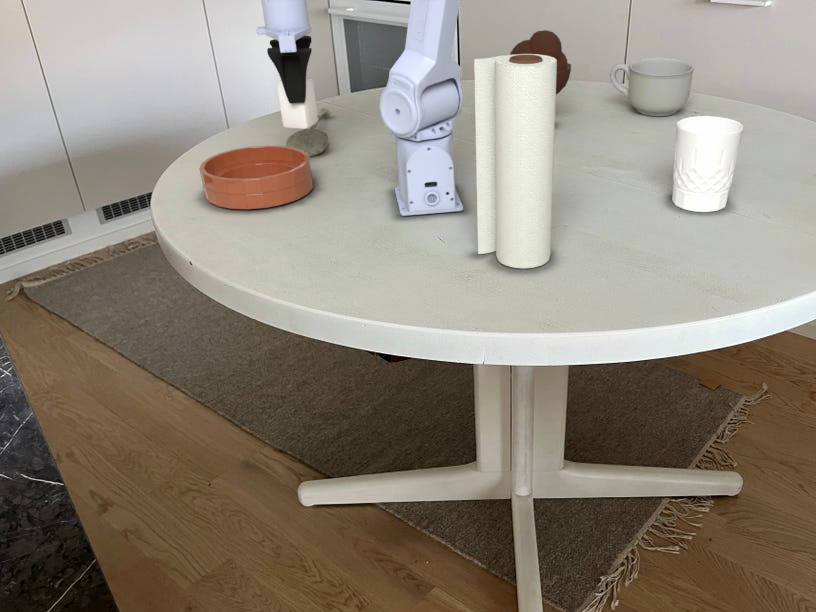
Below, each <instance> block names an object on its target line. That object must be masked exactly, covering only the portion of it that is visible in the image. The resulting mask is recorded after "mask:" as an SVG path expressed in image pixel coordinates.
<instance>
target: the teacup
mask: <svg viewBox="0 0 816 612" xmlns="http://www.w3.org/2000/svg"><path fill="white" fill-rule="evenodd" d="M694 70H695V66H694V65H693V64H692V63H691V62H689V61H686V60H683V59H680V58H679V59H677V58H671V57H645V58H641V59H637V60H634V61H632V62H631V63H630V64H629V65H628V64H626V63H622V62H621V63H617V64H615V65H614V66H613V67H612V68H611V71H610V73H609V79H610V82H611V84H612V86H613V87H614V88H615V89H616V90H617V91H618V92H620V93H621V94H623V95H624V98H625V99H626V100H628V101H629V103H630V104H631V106H632V107H633V108H635V110H636V111H637V112H638V113H639V114H642V115H644V116H650V117H668V116H672V115H675V114H676V113H677V112H678V111H679V110H682V108H684V107H685V105H687V103H688V101H689V98H690V93H691V87H692V82H693V81H692V80H693V72H694ZM618 71H622V72H624V73H625V75H626V79H627V81H628V85H627V87H628V88H627V87H625V86H624V85H622V84H621V83H620V82H619V80H618V79H617V72H618Z"/></svg>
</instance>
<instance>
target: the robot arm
mask: <svg viewBox="0 0 816 612" xmlns="http://www.w3.org/2000/svg"><path fill="white" fill-rule="evenodd" d="M260 1H261V8H262V13H263V21H264V26H257V27H256V34H257V35H265V36H267V37H269V38H271V40H269V45H270V47H268V48H267V50H266V52H267V56H268V58H269V60H270V61H271V63H272V64H273V65H274V67H275V69H276V71H277V73H278V75H279V78H280V80H281V81H282V84H283V87H284V90H285V93H286V96H287V99H288V101H289V103H290V104H291V103H304V102H305V97H306V77H307V71H308V65H309V62H310V57H311V55H312V50H313V49H312V47H311V44H312V36H310V35H309V34H310V33H312V31H313V30H312V24H310V19H309V11H308V3H307V0H260ZM460 2H461V0H410V5H409V14H408V21H407V28H406V37H405V45H404V50H403V52H402V53H401V55H400V56H399V57H398V59H397V60H396V61H395V62H394V64H393V66H392V67H391V68H390V70H389V73H388V74H389V75H388V79H387V84H386V85H385V88H384V89H383V90H382V92H381V94H380V97H379V113H380V117H381V119H382V121H383V124H384V125H385V127H386V128H387V129H388V130H389V131H390V132H391V137H392V138H393V137H394V139H395V154H396V163H397V164H396V165H397V178H398V186H397V187H395V188H394V193H395V198H396V201H397V205H398V210H399V214H400V216H402V217H407V216H417V215H430V214H443V213H444V214H445V213H454V212H455V213H457V212H462V211H464V205H463V203H462V200H461V198H460V196H459V194H458V191H457V189H456V184H455V165H454V164H455V163H454V144H453V143H454V141H453V129H454V128H455V127H456V126H455V119H456V118H457V117H458V116H459V114H461V111H462V108H463V105H464V95H463V89H462V84H461V79H462V73H463V69H462V67H461V66H460V65H459V64H458V62H457V61H456V60H455V59H453V57H452V52H453V46H454V41H455V40H454V39H455V34H456V27H457V21H458V16H459V9H460V5H461V4H460Z"/></svg>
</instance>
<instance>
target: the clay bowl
mask: <svg viewBox="0 0 816 612" xmlns="http://www.w3.org/2000/svg"><path fill="white" fill-rule="evenodd" d="M310 159H311V157H310V156H309V155H308V154H307V153H306V152H305V151H302V150H299V149H296V148H292V147H286V145H255V146H253V145H252V146H246V147H239V148H234V149H230V150H226V151H223V152H219V153H217V154H214V155H212V156H209V157H208V158H206V159H205V160H204V161H203V162H200V166H199V169H198V170H199V174H200V178H201V182H202V187H203V192H204V196H205V198H206V200H207V201H208V202H209V203H211V204H212V205H214V206H217V207H220V208H224V209H225V208H226V209H229V210H230V209H231V210H255V209H267V208H272V207H277V206H282V205H286V204H289V203H292V202H295V201H298V200H299V199H301V198H303V197H305V196H307V195H308V194H309V193H310V192H311V191H312V190H313V188H314V182H313V173H312V167H311V160H310Z"/></svg>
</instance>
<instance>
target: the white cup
mask: <svg viewBox="0 0 816 612" xmlns="http://www.w3.org/2000/svg"><path fill="white" fill-rule="evenodd" d="M675 128H676V129H675V139H674V140H675V142H674V154H673V172H672V173H673V174H672V177H673V185H672V186H673V187H672V197H671V201H672V202H673V204H674V206H676V207H678V208H680V209H682V210H685V211H690V212H695V213H710V212H711V213H712V212H718V211H721V210H722V209H725V207H726V205H727V204H728V198H729V194H730V188H731V187H732V183H733V179H734V175H735V169H736V166H737V162H738V157H739V152H740V147H741V141H742V137H743V132H744V125H743V124H742V123H741V122H740V121H738V120H735V119H732V118H727V117H721V116H712V115H711V116H710V115H697V116H689V117H688V116H687V117H683V118H681V119H679V120H678V121H677V122H676V127H675Z"/></svg>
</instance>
